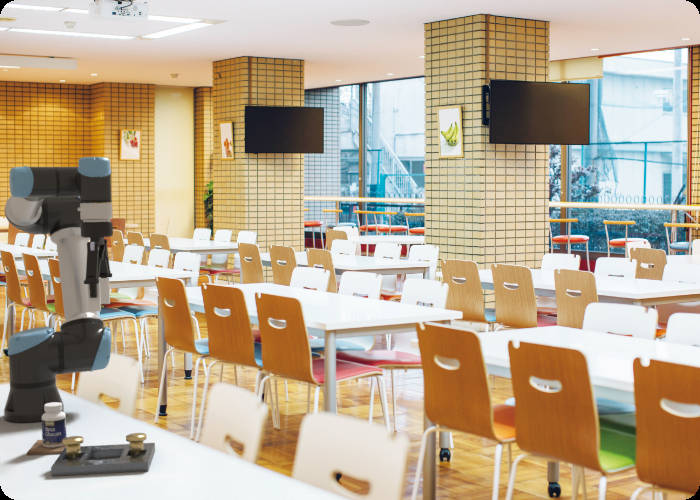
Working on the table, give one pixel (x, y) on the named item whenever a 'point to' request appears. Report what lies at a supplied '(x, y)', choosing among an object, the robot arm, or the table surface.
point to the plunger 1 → (73, 446)
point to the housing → (104, 460)
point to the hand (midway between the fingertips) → (99, 307)
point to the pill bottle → (53, 425)
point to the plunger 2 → (136, 442)
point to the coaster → (44, 449)
